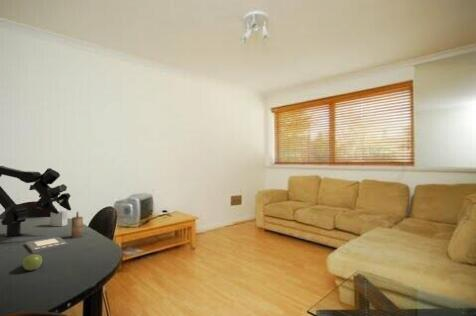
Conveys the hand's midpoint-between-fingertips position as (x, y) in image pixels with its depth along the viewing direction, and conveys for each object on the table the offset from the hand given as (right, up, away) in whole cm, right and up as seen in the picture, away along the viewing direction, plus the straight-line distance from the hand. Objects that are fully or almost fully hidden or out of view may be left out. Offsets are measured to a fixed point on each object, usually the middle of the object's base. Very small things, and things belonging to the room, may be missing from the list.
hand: (64, 211), depth 134 cm
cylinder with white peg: (+7, -13, -1) cm, 15 cm away
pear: (+15, -13, -40) cm, 44 cm away
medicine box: (-18, -13, +22) cm, 32 cm away
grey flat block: (+2, -13, -15) cm, 20 cm away
